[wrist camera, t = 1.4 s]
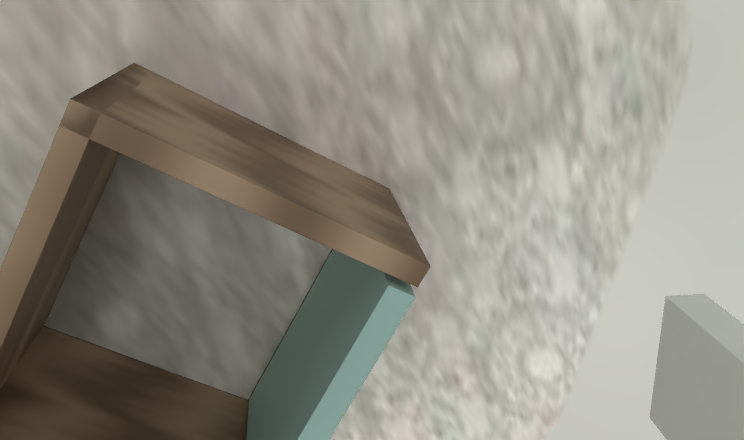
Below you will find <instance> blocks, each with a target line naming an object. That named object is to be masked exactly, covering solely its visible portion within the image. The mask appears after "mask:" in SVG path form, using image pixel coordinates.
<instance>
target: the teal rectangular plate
mask: <svg viewBox="0 0 744 440" xmlns="http://www.w3.org/2000/svg"><path fill="white" fill-rule="evenodd" d="M414 298H415V295H414V293H413V290H412V288H411V286H410V284H409V283H407V282H405V281H403V280H400V279H398V278H396V277H394V276H391V275H389V274H387V273H385V272H383V271H380V270H378V269H376V268H374V267H372V266H369V265H367V264H365V263H363V262H360V261H358V260H356V259H354V258H352V257H349V256H347V255H345V254H343V253H340V252H338V251H336V250H334V249H333V250H332V251H331V253H330V255H329V257H328V259H327V260H326V262H325V264H324V266H323V268H322V269H321V271H320V273H319V275H318V277H317V278H316V280H315V282H314V284H313V286H312V287H311V289H310V291H309V293H308V295H307V296H306V298H305V300H304V302H303V304H302V305H301V307H300V309H299V311H298V313H297V314H296V316H295V318H294V320H293V322H292V323H291V325H290V327H289V329H288V331H287V332H286V334H285V336H284V338H283V340H282V341H281V343H280V345H279V347H278V349H277V350H276V352H275V354H274V356H273V358H272V359H271V361H270V363H269V365H268V367H267V368H266V370H265V372H264V374H263V376H262V377H261V379H260V381H259V383H258V385H257V386H256V388H255V390H254V392H253V394H252V395H251V397H250V399H249V410H248V423H247V437H246V440H329V439H330V437H331V435H332V434H333V432H334V430H335V429H336V427H337V425H338V424H339V422H340V420H341V419H342V417H343V416H344V414H345V412H346V411H347V409H348V407H349V406H350V404H351V402H352V401H353V399H354V397H355V396H356V394H357V392H358V391H359V389H360V388H361V386H362V384H363V383H364V381H365V379H366V378H367V376H368V374H369V373H370V371H371V369H372V368H373V366H374V364H375V363H376V361H377V359H378V358H379V356H380V355H381V353H382V351H383V350H384V348H385V346H386V345H387V343H388V341H389V340H390V338H391V336H392V335H393V333H394V331H395V330H396V328H397V327H398V325H399V323H400V322H401V320H402V318H403V317H404V315H405V313H406V312H407V310H408V308H409V307H410V305H411V303H412V302H413V300H414Z"/></svg>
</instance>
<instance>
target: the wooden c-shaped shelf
mask: <svg viewBox="0 0 744 440" xmlns="http://www.w3.org/2000/svg"><path fill="white" fill-rule="evenodd" d="M119 153H121V154H123V155H126V156H128V157H130V158H132V159H134V160H137V161H139V162H141V163H143V164H146V165H148V166H150V167H152V168H154V169H157V170H159V171H161V172H163V173H165V174H168V175H170V176H172V177H174V178H177V179H179V180H181V181H183V182H185V183H188V184H190V185H192V186H194V187H196V188H199V189H201V190H203V191H205V192H208V193H210V194H212V195H214V196H216V197H219V198H221V199H223V200H225V201H227V202H230V203H232V204H234V205H236V206H239V207H241V208H243V209H245V210H247V211H250V212H252V213H254V214H256V215H259V216H261V217H263V218H265V219H267V220H270V221H272V222H274V223H276V224H278V225H281V226H283V227H285V228H287V229H290V230H292V231H294V232H296V233H298V234H301V235H303V236H305V237H307V238H309V239H312V240H314V241H316V242H318V243H321V244H323V245H325V246H327V247H329V248H332V249H334V250H336V251H338V252H340V253H343V254H345V255H347V256H349V257H352V258H354V259H356V260H358V261H360V262H363V263H365V264H367V265H369V266H372V267H374V268H376V269H378V270H380V271H383V272H385V273H387V274H389V275H391V276H394V277H396V278H398V279H400V280H403V281H405V282H407V283H409V284H411V285H414V286H416V287H418V286H419V284H420V283H421V281H422V279H423V278H424V276H425V274H426V273H427V271H428V269H429V268H430V264H429V263H428V261H427V259H426V257H425V255H424V253H423V251H422V249H421V248H420V246H419V244H418V242H417V240H416V238H415V236H414V234H413V232H412V231H411V229H410V227H409V225H408V223H407V221H406V219H405V217H404V216H403V214H402V212H401V210H400V208H399V206H398V204H397V202H396V200H395V199H394V197H393V195H392V193H391V191H390V189H388V188H386V187H384V186H382V185H380V184H378V183H376V182H374V181H372V180H370V179H368V178H366V177H364V176H362V175H360V174H358V173H356V172H354V171H352V170H350V169H348V168H346V167H344V166H342V165H340V164H338V163H336V162H333V161H331V160H329V159H327V158H325V157H323V156H321V155H319V154H317V153H315V152H313V151H311V150H309V149H307V148H305V147H303V146H301V145H299V144H297V143H295V142H293V141H291V140H289V139H287V138H285V137H283V136H281V135H279V134H277V133H275V132H273V131H271V130H269V129H267V128H265V127H263V126H261V125H259V124H257V123H255V122H253V121H250V120H248V119H246V118H244V117H242V116H240V115H238V114H236V113H234V112H232V111H230V110H228V109H226V108H224V107H222V106H220V105H218V104H216V103H214V102H212V101H210V100H208V99H206V98H204V97H202V96H200V95H198V94H196V93H194V92H192V91H190V90H188V89H186V88H184V87H182V86H180V85H178V84H176V83H174V82H172V81H170V80H167V79H165V78H163V77H161V76H159V75H157V74H155V73H153V72H151V71H149V70H147V69H145V68H143V67H141V66H139V65H137V64H135V63H133V64H132V65H130V66H128V67H126V68H125V69H123V70H121V71H119V72H117V73H116V74H114V75H112V76H110V77H108V78H107V79H105V80H103V81H101V82H100V83H98V84H96V85H94V86H92V87H91V88H89V89H87V90H85V91H83V92H82V93H80V94H78V95H76V96H74V97H73V98H71V99H70V101H69V103H68V106H67V108H66V111H65V113H64V116H63V118H62V120H61V123H60V125H59V128H58V130H57V133H56V135H55V138H54V140H53V142H52V145H51V147H50V150H49V152H48V155H47V157H46V160H45V162H44V164H43V167H42V169H41V172H40V174H39V177H38V179H37V182H36V184H35V186H34V189H33V191H32V194H31V196H30V199H29V201H28V204H27V206H26V208H25V211H24V213H23V216H22V218H21V221H20V223H19V226H18V228H17V230H16V233H15V235H14V238H13V240H12V243H11V245H10V248H9V250H8V252H7V255H6V257H5V260H4V262H3V265H2V267H1V270H0V440H246V437H247V423H248V410H249V401H248V400H245V399H242V398H239V397H237V396H234V395H231V394H228V393H226V392H223V391H220V390H217V389H215V388H212V387H209V386H206V385H204V384H201V383H198V382H195V381H193V380H190V379H187V378H184V377H182V376H179V375H176V374H173V373H171V372H168V371H165V370H162V369H160V368H157V367H154V366H151V365H148V364H146V363H143V362H140V361H137V360H135V359H132V358H129V357H126V356H124V355H121V354H118V353H115V352H113V351H110V350H107V349H104V348H102V347H99V346H96V345H93V344H91V343H88V342H85V341H82V340H80V339H77V338H74V337H71V336H69V335H66V334H63V333H60V332H58V331H55V330H52V329H49V328H46V327H44V326H43V325H44V323H45V321H46V319H47V316H48V314H49V312H50V310H51V307H52V305H53V303H54V301H55V298H56V296H57V294H58V291H59V289H60V287H61V285H62V282H63V280H64V278H65V276H66V273H67V271H68V269H69V266H70V264H71V262H72V260H73V257H74V255H75V253H76V251H77V248H78V246H79V244H80V241H81V239H82V237H83V235H84V232H85V230H86V228H87V226H88V223H89V221H90V219H91V216H92V214H93V212H94V210H95V207H96V205H97V203H98V201H99V198H100V196H101V194H102V191H103V189H104V187H105V185H106V182H107V180H108V178H109V176H110V173H111V171H112V169H113V167H114V164H115V162H116V160H117V157H118V155H119Z"/></svg>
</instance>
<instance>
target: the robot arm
mask: <svg viewBox="0 0 744 440" xmlns="http://www.w3.org/2000/svg"><path fill="white" fill-rule="evenodd" d="M650 419H651V420H652V421H653V422H654V424H655V425H656V426H657V428H658V429H659V430H660V431H661V433H662V434H663V435H664V436H665V438H666V439H667V440H744V324H743V323H741V322H740V321H739V320H737V319H736V318H735V317H733V316H732V315H731V314H729V313H728V312H727V311H726V310H724V309H723V308H722V307H720V306H719V305H718V304H717V303H715V302H714V301H713V300H711V299H710V298H709V297H707V296H706V295H704V294H694V295H678V296H666V298H665V305H664V312H663V320H662V328H661V336H660V343H659V350H658V358H657V365H656V373H655V382H654V388H653V396H652V403H651V411H650Z"/></svg>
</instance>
